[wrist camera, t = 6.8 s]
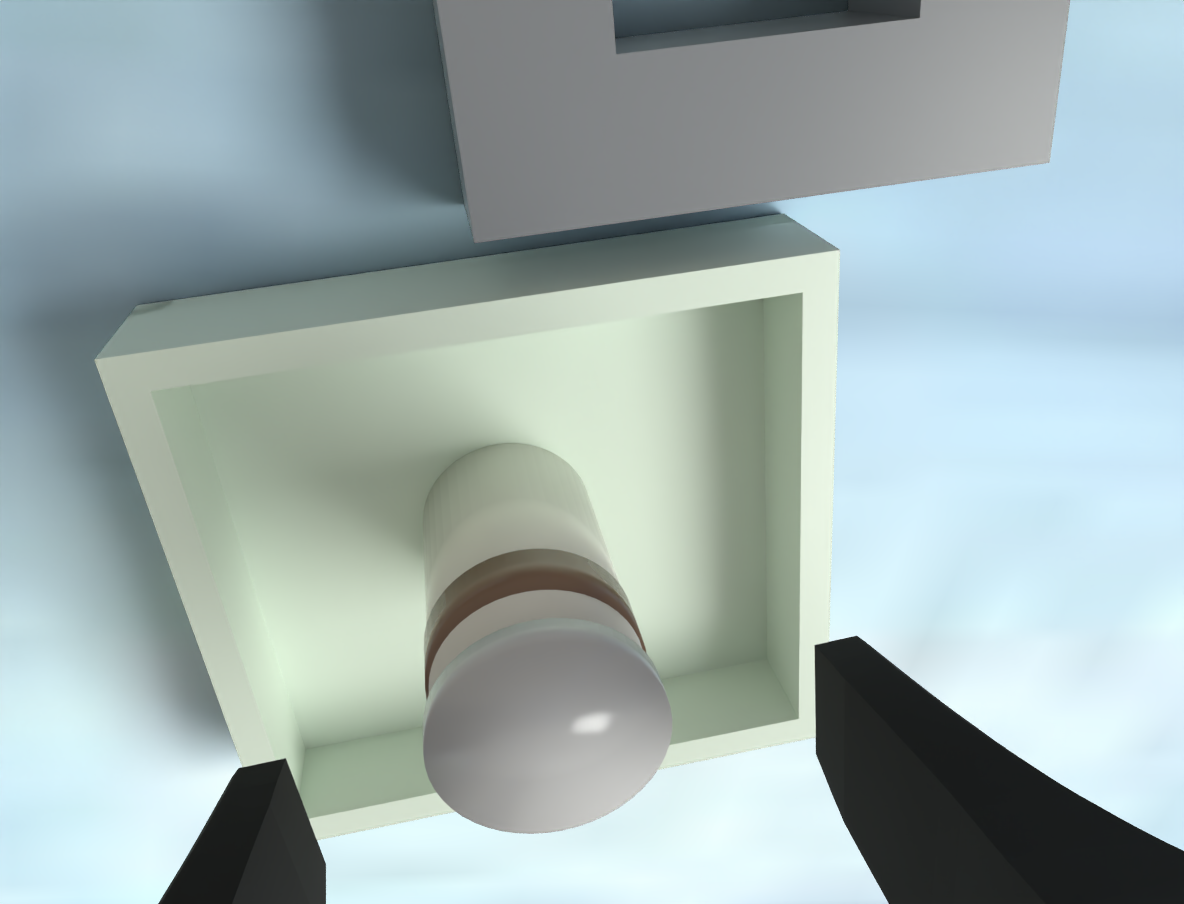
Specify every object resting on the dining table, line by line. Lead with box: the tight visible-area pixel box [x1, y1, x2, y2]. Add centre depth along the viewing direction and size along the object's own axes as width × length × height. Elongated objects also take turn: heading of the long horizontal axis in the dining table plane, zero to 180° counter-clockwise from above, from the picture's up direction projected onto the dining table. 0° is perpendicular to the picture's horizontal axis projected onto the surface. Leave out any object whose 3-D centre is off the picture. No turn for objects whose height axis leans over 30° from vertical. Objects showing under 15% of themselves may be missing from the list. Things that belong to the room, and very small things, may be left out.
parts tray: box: [94, 214, 840, 840], centre depth 18 cm, size 11×10×2 cm
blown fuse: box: [423, 443, 672, 834], centre depth 16 cm, size 3×3×6 cm
